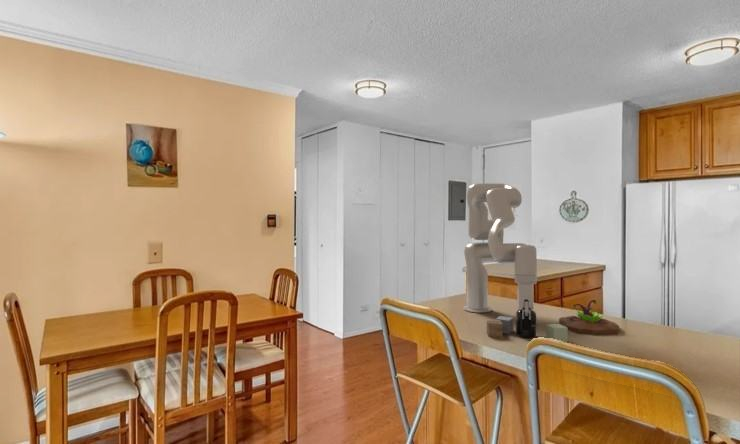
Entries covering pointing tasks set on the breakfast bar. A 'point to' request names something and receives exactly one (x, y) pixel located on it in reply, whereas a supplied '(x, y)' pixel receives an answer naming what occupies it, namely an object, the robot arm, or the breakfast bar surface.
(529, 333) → the supplement bottle
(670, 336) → the breakfast bar surface
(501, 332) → the walnut cube
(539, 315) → the breakfast bar surface
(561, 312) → the breakfast bar surface
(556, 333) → the sage cube
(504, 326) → the slate cube
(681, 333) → the breakfast bar surface
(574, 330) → the plant
